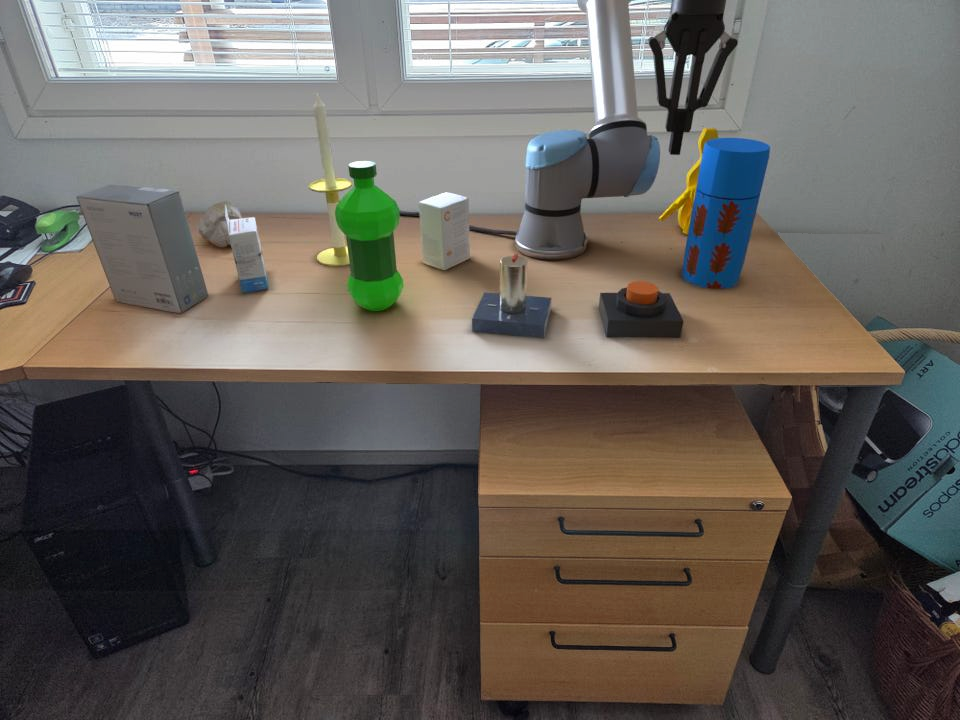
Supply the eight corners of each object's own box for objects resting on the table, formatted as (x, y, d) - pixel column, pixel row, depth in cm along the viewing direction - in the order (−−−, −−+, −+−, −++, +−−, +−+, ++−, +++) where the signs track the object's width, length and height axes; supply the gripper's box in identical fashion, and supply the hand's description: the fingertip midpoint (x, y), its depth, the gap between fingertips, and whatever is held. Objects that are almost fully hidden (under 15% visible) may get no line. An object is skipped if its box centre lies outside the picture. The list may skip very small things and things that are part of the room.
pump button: (628, 305, 100) (630, 294, 99) (623, 291, 104) (625, 280, 103) (659, 305, 99) (661, 294, 98) (653, 291, 104) (655, 280, 103)
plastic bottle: (360, 323, 105) (340, 176, 92) (342, 298, 113) (322, 160, 99) (414, 310, 109) (403, 167, 95) (393, 287, 117) (380, 152, 103)
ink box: (269, 290, 116) (253, 214, 108) (242, 294, 115) (223, 218, 107) (266, 272, 123) (251, 200, 115) (240, 276, 122) (223, 203, 114)
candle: (306, 262, 127) (277, 93, 110) (334, 245, 135) (310, 85, 117) (348, 269, 124) (324, 97, 106) (373, 251, 132) (355, 88, 114)
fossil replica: (223, 256, 131) (261, 244, 138) (219, 218, 127) (258, 208, 134) (187, 240, 136) (225, 230, 143) (181, 203, 132) (221, 195, 139)
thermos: (743, 291, 114) (776, 153, 100) (683, 287, 115) (708, 151, 102) (734, 268, 123) (764, 138, 109) (679, 264, 124) (702, 136, 111)
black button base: (606, 337, 100) (609, 310, 97) (598, 308, 109) (601, 283, 106) (680, 338, 100) (685, 310, 97) (666, 309, 108) (671, 283, 105)
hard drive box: (210, 296, 114) (181, 190, 103) (181, 315, 108) (147, 204, 97) (144, 285, 119) (110, 182, 108) (113, 302, 113) (73, 195, 102)
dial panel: (472, 331, 102) (471, 317, 101) (484, 304, 110) (484, 291, 109) (543, 338, 100) (544, 324, 99) (550, 310, 108) (551, 296, 107)
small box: (448, 251, 131) (446, 191, 124) (470, 258, 128) (469, 197, 121) (421, 263, 126) (417, 201, 119) (444, 271, 123) (441, 207, 116)
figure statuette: (658, 236, 137) (673, 134, 126) (652, 224, 144) (666, 126, 132) (739, 237, 136) (762, 134, 124) (729, 225, 143) (751, 126, 131)
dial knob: (523, 314, 102) (525, 265, 97) (497, 312, 102) (497, 263, 98) (527, 302, 105) (529, 254, 101) (502, 300, 106) (503, 252, 101)
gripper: (743, -19, 89) (711, 147, 102) (652, -18, 91) (631, 145, 104) (755, -17, 83) (719, 160, 96) (657, -17, 85) (635, 157, 98)
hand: (674, 152), depth 100 cm, fingers closed
